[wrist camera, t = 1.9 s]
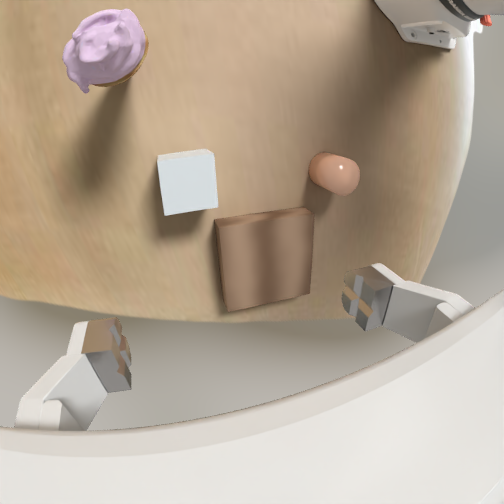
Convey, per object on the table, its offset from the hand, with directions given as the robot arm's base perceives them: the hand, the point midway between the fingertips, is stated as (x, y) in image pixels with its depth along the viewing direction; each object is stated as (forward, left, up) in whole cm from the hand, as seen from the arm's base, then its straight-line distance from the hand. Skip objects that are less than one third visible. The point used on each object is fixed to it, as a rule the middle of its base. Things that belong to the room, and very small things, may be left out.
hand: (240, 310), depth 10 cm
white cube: (0, 0, -26) cm, 26 cm away
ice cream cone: (+6, -13, -26) cm, 30 cm away
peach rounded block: (-18, +1, -26) cm, 31 cm away
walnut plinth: (-9, +12, -26) cm, 30 cm away
